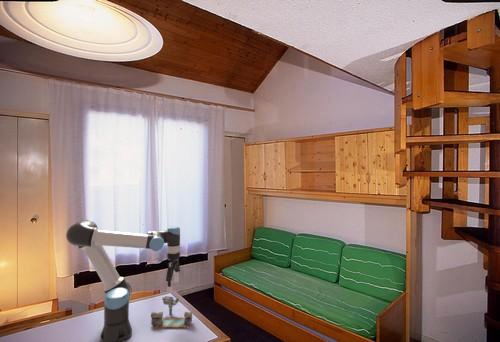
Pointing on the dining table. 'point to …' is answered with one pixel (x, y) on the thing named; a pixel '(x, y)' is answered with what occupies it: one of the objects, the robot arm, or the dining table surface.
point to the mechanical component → (170, 302)
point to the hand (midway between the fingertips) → (173, 286)
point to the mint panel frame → (170, 320)
